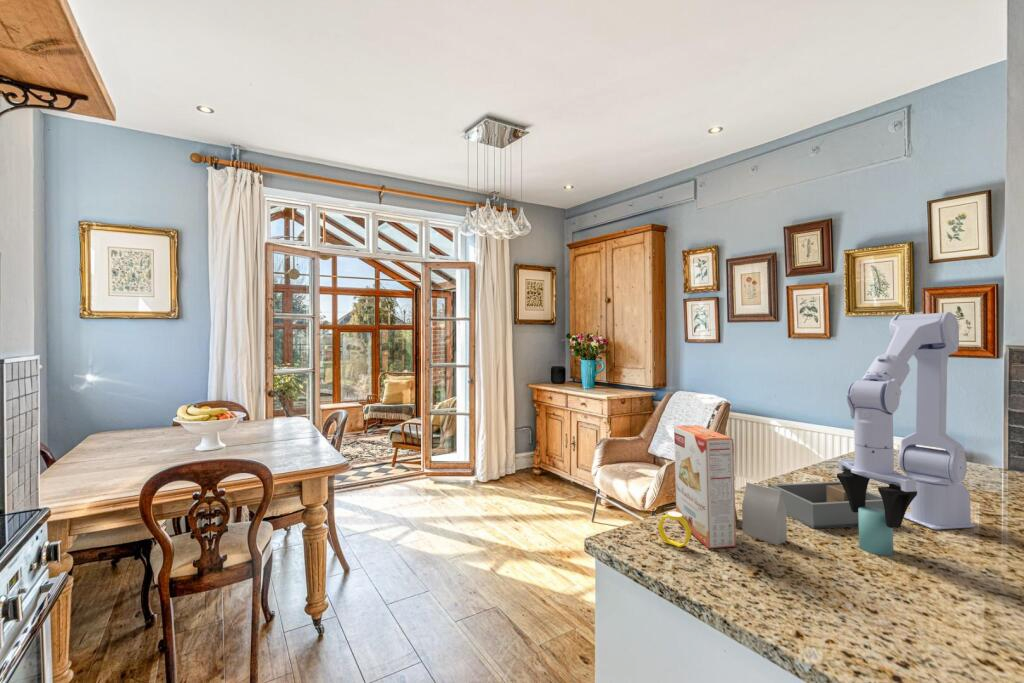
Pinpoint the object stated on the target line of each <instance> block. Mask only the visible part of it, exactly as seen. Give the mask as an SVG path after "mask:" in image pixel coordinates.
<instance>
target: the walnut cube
mask: <svg viewBox="0 0 1024 683" xmlns="http://www.w3.org/2000/svg"><path fill="white" fill-rule="evenodd" d="M826 494H827V502H843V501H848V498H847V495H846V492H845V490H844V488H843V486H842V485H828V486H826Z"/></svg>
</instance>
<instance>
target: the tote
mask: <svg viewBox="0 0 1024 683" xmlns="http://www.w3.org/2000/svg"><path fill="white" fill-rule="evenodd" d="M828 485H842V484H841V482H840V481H839V480H837V481H822V482H821V481H820V482H803V483H802V482H800V483H782V484H781V483H780V484H779V483H778V484H770V485H769V486H770V487H769V488H773V489H777V490H781V491H782V496H783V501H784V504H785V508H786V516H788V517H790V518H792V519H794V520H796V521H798V522H799V523H802V524H803V525H806V526H807V527H809V528H811V529H812V530H816V529H833V528H837V529H838V528H850V527H851V528H852V527H859V518H858V512H855V513H854V512H852V510H851V507H850V504H849V501H843V502H827V494H826V486H828ZM865 507H874V508H879V509H883V510H885V509H884V504H883V500H882V497H881V495H877V494H875V493H873V492H871V491H870V492H869V491H867V490H866V502H865Z"/></svg>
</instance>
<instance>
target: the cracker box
mask: <svg viewBox="0 0 1024 683" xmlns="http://www.w3.org/2000/svg"><path fill="white" fill-rule="evenodd" d="M673 430H674V431H673V434H674V435H673V436H674V437H673V438H674V441H673V442H674V460H675V461H674V465H675V466H674V471H675V472H674V474H675V505H676V506H675V508H676V509H675V512H679V513H681V514H682V516H683V518H684V519H685V520H686V521H687V523H688V525H689V527H690V529H691V535H693V536H694V537H695V538H696V539H697V540H698V541H699V542H700V543H701V544H703V545H704V546H705V547H706V548H707V549H720V548H735V547H736V546H737V534H736V532H737V531H736V528H737V527H736V524H737V523H736V522H735V507H736V496H735V495H736V491H735V490H736V489H735V486H736V485H735V484H736V483H735V482H736V481H734V476H735V452H734V450H735V446H734V445H735V444H734V437H732V436H731V437H730V436H727V435H725V434H722V433H720V432H717V431H714V430H711V429H709V428H706V427H704V426H701V425H697V424H695V425H675V426H673ZM676 522H678V523H679V524H680V525H681V526H683V524H682V523H681V522H680V521H679V520H676Z"/></svg>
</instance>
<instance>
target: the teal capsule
mask: <svg viewBox="0 0 1024 683" xmlns="http://www.w3.org/2000/svg"><path fill="white" fill-rule="evenodd" d="M858 518H859V526H858V547H859V548H860V550H862V551H864V552H866V553H869V554H872V555H876V556H877V555H878V556H883V557H884V556H885V557H888V556H893V555H894V528H889V527H887V525H886V521H885V510H883V509H879V508H874V507H860V508H858Z"/></svg>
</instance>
